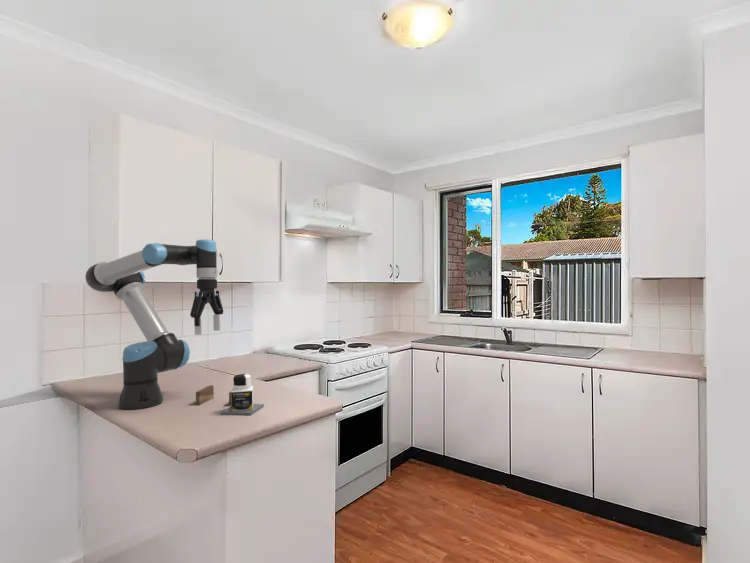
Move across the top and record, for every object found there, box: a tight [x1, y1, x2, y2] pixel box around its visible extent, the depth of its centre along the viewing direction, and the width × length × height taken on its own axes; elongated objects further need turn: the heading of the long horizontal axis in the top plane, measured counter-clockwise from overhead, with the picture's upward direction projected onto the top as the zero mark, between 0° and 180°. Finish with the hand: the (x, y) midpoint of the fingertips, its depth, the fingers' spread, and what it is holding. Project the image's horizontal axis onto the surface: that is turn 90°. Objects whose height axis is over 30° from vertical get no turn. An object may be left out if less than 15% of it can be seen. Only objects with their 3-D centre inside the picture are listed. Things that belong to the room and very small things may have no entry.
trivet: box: [220, 403, 265, 416], centre depth 159 cm, size 11×11×1 cm
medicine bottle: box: [230, 373, 255, 411], centre depth 159 cm, size 7×7×12 cm
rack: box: [195, 385, 232, 407], centre depth 171 cm, size 15×10×5 cm, turn 81°
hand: (208, 332), depth 174 cm, fingers open, 13 cm apart
